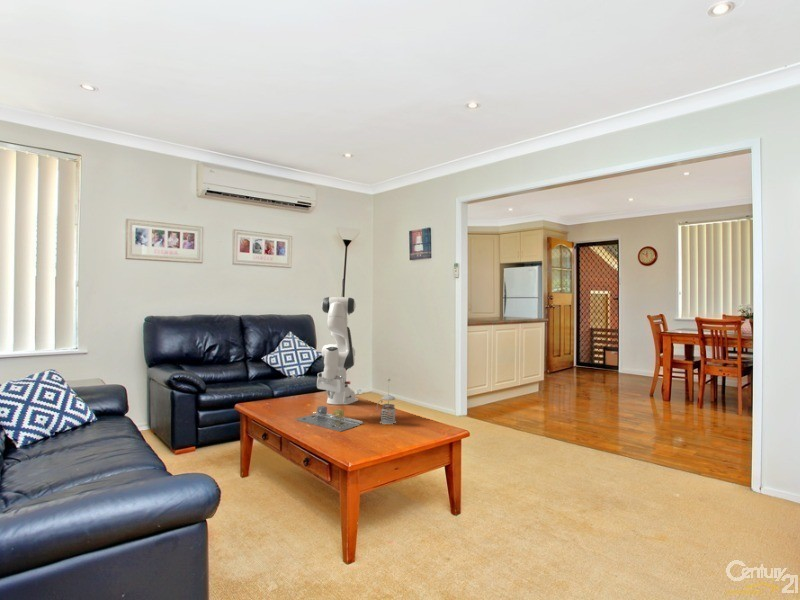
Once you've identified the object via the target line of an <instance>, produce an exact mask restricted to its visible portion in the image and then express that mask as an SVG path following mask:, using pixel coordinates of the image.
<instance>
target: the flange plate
mask: <svg viewBox="0 0 800 600" xmlns="http://www.w3.org/2000/svg"><path fill="white" fill-rule="evenodd" d="M295 421H299V422H301V423H306V424H310V425H314V426H318V427H321V428H325V429H330V430H332V431H337V432H340V433H341V432H344V431H346V430H351V429H353V427H354V428H357V427H359V426H360V425H357V424H353V423H349V422H344V421H340V420H336V419H332V418H328V417H323V416H319V415H317V414H313V413H312V414H309V415H305V416H301V417H298V418H297V417H296V418H295ZM356 426H357V427H356Z"/></svg>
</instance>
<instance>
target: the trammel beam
mask: <svg viewBox="0 0 800 600" xmlns="http://www.w3.org/2000/svg"><path fill="white" fill-rule="evenodd" d="M316 409H317V411H314V412H312V415H313V414H315V415H319V416H323V417H328V418H330V417H331V416H334V413H333V414H332V413H328V407H327V406H325V405H320V406H317V407H316ZM332 419H336V420H340V421H344V422H349V423H353V424H357V425H359V426H361V425H363V424H364V423H363V422H364V421H363V420H359V419H354V418H350V417H345V416H342V417H333V418H332ZM360 424H361V425H360Z"/></svg>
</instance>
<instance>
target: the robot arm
mask: <svg viewBox="0 0 800 600" xmlns="http://www.w3.org/2000/svg"><path fill="white" fill-rule="evenodd" d="M356 307H357V305H356V301H355V299H354V298H352V297H346V296H332V297H330V296H327V297H324V298H323V299H322V301H321V310H322V312H323V313H325V314H327V320H326V325H327V328H328V330H329V331H330V337H332V338H333V339H334V341H335V343H329V344H324V345H323V346H322V348H321V356H322V363H323V364H322V365H324V366H323V367H324V368H323V371H321V372H318V373H317V379H316V388H317V390H323V391H326V395H327V399H326V404H329V405H336V406H337V405H349V404H353V403H356V402H358V401H359V397H358V398H357V397H356V394H355V391H354V390H353V389H351V388H350V386H349V385H351V381H349V380H347V369H348V370H349V369H351V368H353V367H354V366H355V363H356V361H355V359H356V358H355V356H356V350H355V348H354V347H353V340H352V335H351V330H350V327H349V326H348V316H350V315H351V314H353V313H354V312H355V310H356Z"/></svg>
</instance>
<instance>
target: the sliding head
mask: <svg viewBox="0 0 800 600" xmlns="http://www.w3.org/2000/svg"><path fill="white" fill-rule="evenodd" d="M333 415H334V416H331V417H330V418H333V417H345V410H344V409H341V408H338V409H333Z"/></svg>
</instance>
